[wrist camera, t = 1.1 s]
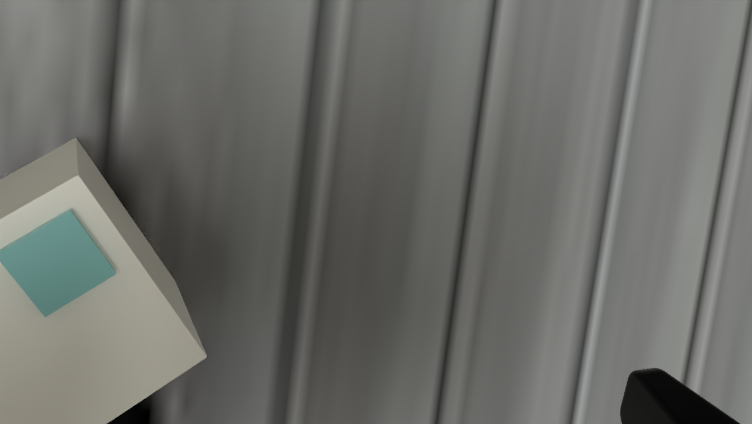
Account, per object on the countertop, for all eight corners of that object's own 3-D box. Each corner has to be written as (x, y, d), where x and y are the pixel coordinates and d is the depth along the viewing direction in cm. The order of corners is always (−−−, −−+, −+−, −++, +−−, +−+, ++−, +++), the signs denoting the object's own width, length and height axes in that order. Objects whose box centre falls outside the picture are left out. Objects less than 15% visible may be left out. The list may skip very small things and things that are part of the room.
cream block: (19, 377, 20) (2, 499, 15) (-104, 236, 18) (-173, 319, 13) (174, 280, 21) (209, 361, 16) (75, 137, 19) (78, 177, 14)
